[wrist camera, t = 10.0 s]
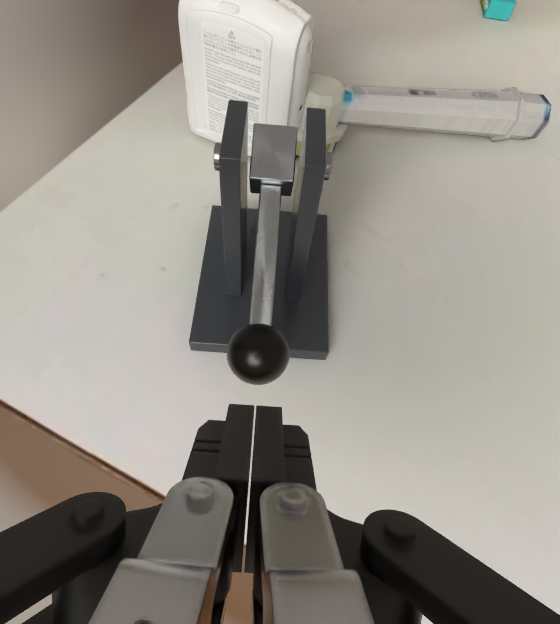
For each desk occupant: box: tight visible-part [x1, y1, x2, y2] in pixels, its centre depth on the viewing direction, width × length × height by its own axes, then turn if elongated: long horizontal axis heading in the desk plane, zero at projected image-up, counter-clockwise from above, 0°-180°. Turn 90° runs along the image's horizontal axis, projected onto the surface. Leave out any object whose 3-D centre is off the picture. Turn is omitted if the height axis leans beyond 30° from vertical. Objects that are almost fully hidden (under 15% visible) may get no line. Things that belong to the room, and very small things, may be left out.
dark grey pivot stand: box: [189, 100, 332, 360], centre depth 27 cm, size 12×9×13 cm
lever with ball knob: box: [227, 123, 298, 385], centre depth 23 cm, size 13×3×3 cm, turn 177°
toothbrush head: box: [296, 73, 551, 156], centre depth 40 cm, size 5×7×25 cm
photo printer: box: [178, 0, 314, 156], centre depth 35 cm, size 10×4×12 cm, turn 65°
